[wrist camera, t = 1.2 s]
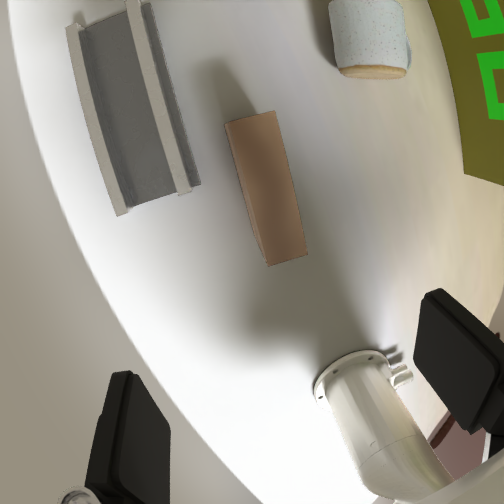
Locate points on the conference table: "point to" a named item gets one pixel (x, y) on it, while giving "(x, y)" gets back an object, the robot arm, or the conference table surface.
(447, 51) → the ammo box
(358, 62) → the ceramic mug
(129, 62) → the floor track
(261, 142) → the door panel
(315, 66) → the conference table surface
